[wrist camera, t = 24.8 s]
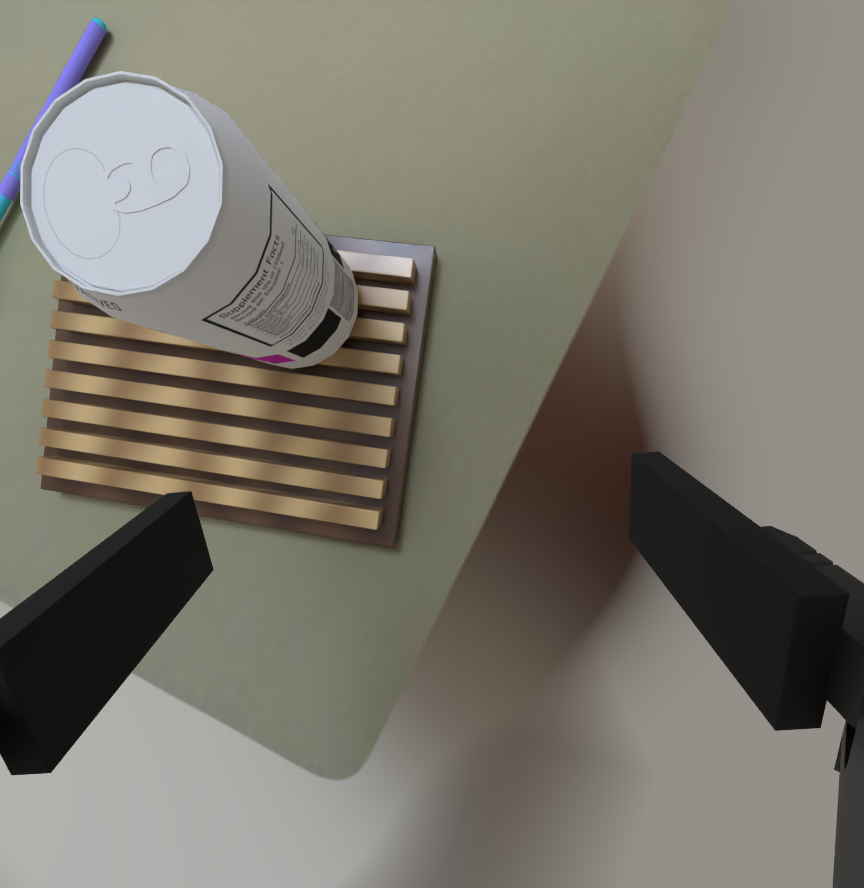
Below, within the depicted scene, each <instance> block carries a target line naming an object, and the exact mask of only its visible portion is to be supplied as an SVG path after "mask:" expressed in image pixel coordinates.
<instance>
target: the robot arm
mask: <svg viewBox="0 0 864 888" xmlns="http://www.w3.org/2000/svg"><path fill="white" fill-rule="evenodd" d="M629 539H630V540H631V541H632V543H633V544H634V545H635V546H636V548H637V549H638V551H639V552H640V553H641V555H642V556H643V557H644V558H645V560H646V561H647V562H648V564H649V565H650V566H651V568H652V569H653V570H654V571H655V573H656V574H657V576H658V577H659V578H660V580H661V581H662V582H663V584H664V585H665V586H666V588H667V589H668V590H669V591H670V593H671V594H672V595H673V597H674V598H675V599H676V601H677V602H678V603H679V605H680V606H681V607H682V609H683V610H684V611H685V612H686V614H687V615H688V616H689V618H690V619H691V620H692V622H693V623H694V624H695V626H696V627H697V628H698V630H699V631H700V632H701V634H702V635H703V636H704V637H705V639H706V640H707V641H708V643H709V644H710V645H711V646H712V648H713V649H714V651H715V652H716V653H717V655H718V656H719V657H720V659H721V660H722V661H723V662H724V664H725V665H726V666H727V668H728V669H729V670H730V672H731V673H732V674H733V676H734V677H735V678H736V679H737V681H738V682H739V684H740V685H741V686H742V687H743V689H744V690H745V691H746V693H747V694H748V695H749V697H750V698H751V699H752V701H753V702H754V703H755V705H756V706H757V707H758V709H759V710H760V711H761V712H762V714H763V715H764V716H765V718H766V719H767V720H768V722H769V723H770V724H771V725H772V727H773V728H774V730H776V731H777V730H792V729H810V728H821V724H822V719H823V714H824V710H825V705H826V701H828V702H829V703H830V704H831V705H832V706H833V707H834V708H835V709H836V710H837V711H838V712H839V713H840V714H841V715H842V716H843V718H844V719H845V720H846V722H845V726H844V730H843V734H842V738H841V743H840V747H839V751H838V755H837V760H836V764H835V768H834V770H836V771H838V772H840V777H839V793H838V794H839V796H838V810H837V826H836V842H835V858H834V875H833V888H864V584H863V583H862V582H861V581H859V580H858V579H856V578H855V577H854V576H852V575H851V574H849V573H848V572H846V571H845V570H844V569H842V568H841V567H839V566H838V565H833V562H832V561H831V560H829V559H828V558H826V557H825V556H823V555H822V554H820V553H817V552H816V550H814V549H813V548H812V547H811V546H809V545H808V544H806V543H805V542H803V541H802V540H800V539H799V538H798V537H796V536H793V535H791V534H789V533H786V532H784V531H781V530H779V529H776V528H774V527H772V526H765V527H760V526H758V525H757V524H756V523H754V522H753V521H752V520H750V519H749V518H748V517H746V516H745V515H743V514H742V513H741V512H740V511H738V510H737V509H735V508H734V507H733V506H731V505H730V504H729V503H727V502H726V501H725V500H723V499H722V498H721V497H719V496H718V495H717V494H715V493H714V492H713V491H711V490H710V489H708V488H707V487H706V486H705V485H703V484H702V483H700V482H699V481H698V480H696V479H695V478H694V477H692V476H691V475H690V474H688V473H687V472H686V471H684V470H683V469H681V468H680V467H679V466H678V465H676V464H675V463H674V462H672V461H671V460H670V459H668V458H667V457H666V456H664V455H662V454H661V453H660V452H648V453H636V454H632V467H631V492H630V517H629ZM212 571H213V566H212V562H211V559H210V555H209V552H208V548H207V545H206V541H205V538H204V534H203V530H202V527H201V523H200V520H199V516H198V513H197V509H196V506H195V502H194V498H193V495H192V491H186V492H175V493H166V494H165V495H164V496H162V497H161V498H160V499H158V500H157V501H156V502H154V503H153V504H152V505H150V506H149V507H148V508H146V509H145V510H144V511H142V512H141V513H140V514H139V515H137V516H136V517H135V518H133V519H132V520H131V521H129V522H128V523H127V524H125V525H124V526H123V527H121V528H120V529H119V530H117V531H116V532H115V533H113V534H112V535H111V536H109V537H108V538H107V539H105V540H104V541H103V542H101V543H100V544H99V545H97V546H96V547H95V548H93V549H92V550H91V551H89V552H88V553H87V554H85V555H84V556H83V557H81V558H80V559H79V560H77V561H76V562H75V563H73V564H72V565H71V566H69V567H68V568H67V569H66V570H64V571H63V572H62V573H60V574H59V575H58V576H56V577H55V578H54V579H52V580H51V581H50V582H48V583H47V584H46V585H44V586H43V587H42V588H40V589H39V590H38V591H36V592H35V593H34V594H32V595H31V596H30V597H28V598H27V599H26V600H24V601H23V602H22V603H20V604H19V605H18V606H16V607H15V608H14V609H12V610H11V611H10V612H8V613H7V614H6V615H4V616H3V617H2V618H0V754H1V756H2V758H3V760H4V762H5V763H6V766H7V767H8V770H9V772H10V773H11V775H23V774H41V773H51V772H52V770H54V768H55V767H56V766H57V765H58V763H59V762H60V761H61V760H62V758H63V757H64V756H65V754H66V753H67V752H68V751H69V750H70V748H71V747H72V746H73V745H74V743H75V742H76V741H77V740H78V738H79V737H80V736H81V735H82V733H83V732H84V731H85V730H86V728H87V727H88V726H89V725H90V723H91V722H92V721H93V720H94V718H95V717H96V716H97V715H98V713H99V712H100V711H101V709H102V708H103V707H104V706H105V704H106V703H107V702H108V701H109V700H110V698H111V697H112V696H113V694H114V693H115V692H116V691H117V690H118V688H119V687H120V686H121V684H122V683H123V682H124V681H125V680H126V678H127V677H128V676H129V675H130V673H131V672H132V671H133V670H134V668H135V667H136V666H137V665H138V663H139V662H140V661H141V660H142V658H143V657H144V656H145V655H146V653H147V652H148V651H149V650H150V648H151V647H152V646H153V645H154V643H155V642H156V641H157V640H158V638H159V637H160V636H161V635H162V633H163V632H164V631H165V630H166V628H167V627H168V626H169V625H170V623H171V622H172V621H173V620H174V618H175V617H176V616H177V615H178V613H179V612H180V611H181V610H182V608H183V607H184V606H185V605H186V603H187V602H188V601H189V600H190V598H191V597H192V596H193V595H194V593H195V592H196V591H197V590H198V588H199V587H200V586H201V585H202V583H203V582H204V581H205V580H206V578H207V577H208V576H209V575H210V573H211V572H212Z"/></svg>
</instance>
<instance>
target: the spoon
mask: <svg viewBox="0 0 864 888" xmlns="http://www.w3.org/2000/svg"><path fill="white" fill-rule="evenodd" d="M106 32H107V28H106V25H105V23H104V22H103V21H102V20H101V19H99V18H93V19H92V20H91V21H90V23H89V25H88V27H87V29H86V30H85V32H84V34H83V36H82V38H81V40H80V41H79V43H78V45H77V47H76V49H75V50H74V52H73V54H72V56H71V58H70V60H69V61H68V63H67V65H66V67H65V69H64V70H63V72H62V74H61V76H60V78H59V79H58V81H57V83H56V85H55V87H54V89H53V90H52V92H51V94H50V96H49V98H48V99H47V101H46V103H45V105H44V107H43V109H42V110H41V112H40V114H39V116H38V118H37V119H36V121H35V123H34V125H33V127H32V129H31V130H30V132H29V134H28V136H27V138H26V139H25V141H24V143H23V145H22V147H21V149H20V150H19V152H18V154H17V156H16V158H15V159H16V160H15V159H14V162H13V163H12V165H11V168H10V169H9V170H10V171H9V172H7V174H6V176H5V178H4V179H3V181H2V183H1V185H0V221H1V219H2V217H3V215H4V214H5V212H6V210H7V208H8V206H9V205H10V203H11V201H13V200H14V198H15V196H16V195H17V193H18V191H19V189H20V166H21V163H22V160H23V157H24V154H25V151H26V148H27V144H28V141H29V138H30V135H31V132H32V130H33V128H34V127H35V125H36V124H37V123H38V121H39V120H40V119H41V117H42V116H43V115H44V113H45V112H46V111H47V109H48V108H49V107H50V105H51V104H52V102H53V101H54V100H55V99H56V98H58V97H59V96H61V95H62V94H64V93H65V92H67V91H68V90H70V89H71V88H73V87H74V86H76V85H77V84H78V83H79V81H80V79H81V77H82V75H83V74H84V72H85V70H86V68H87V66H88V65H89V63H90V61H91V59H92V57H93V56H94V54H95V52H96V50H97V48H98V47H99V45H100V43H101V41H102V39H103V38H104V36H105V34H106Z"/></svg>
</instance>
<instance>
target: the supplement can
mask: <svg viewBox="0 0 864 888" xmlns="http://www.w3.org/2000/svg"><path fill="white" fill-rule="evenodd" d="M20 205H21V208H22V211H23V214H24V217H25V221H26V224H27V227H28V230H29V233H30V236H31V239H32V241H33V242H34V244H35V245H36V246H37V248H38V249H39V250H40V252H41V253H42V254H43V256H44V257H45V258H46V260H47V261H48V262H49V264H50V265H51V266H52V268H53V269H54V270H55V271H57V272H58V273H60V274H62V275H63V276H65V277H66V278H67V279H68V281H69V282H70V283H71V284H72V286H73V287H74V288H75V289H76V291H77V292H78V293H79V294H80V296H81V297H82V298H84V299H85V300H87V301H89V302H90V303H92V304H93V305H95V306H96V307H98V308H99V309H101V310H102V311H104V312H105V313H107V314H108V315H110V316H112V317H113V318H116V319H119V320H123V321H126V322H129V323H133V324H136V325H140V326H143V327H146V328H150V329H153V330H156V331H160V332H163V333H167V334H170V335H173V336H177V337H180V338H184V339H187V340H190V341H194V342H197V343H200V344H204V345H207V346H211V347H214V348H217V349H221V350H224V351H227V352H231V353H234V354H238V355H241V356H244V357H248V358H251V359H254V360H258V361H261V362H265V363H268V364H272V365H276V366H281V367H286V368H290V369H294V368H300V367H307V366H314V365H316V364H317V363H319V362H321V361H323V360H325V359H326V358H328V357H330V356H332V355H333V354H334V353H335V352H336V351H337V350H338V349H339V348H340V346H341V345H342V344H343V343H344V342H345V341H346V340H347V338H348V337H349V335H350V333H351V330H352V327H353V325H354V322H355V320H356V317H357V311H358V289H357V286H356V283H355V280H354V277H353V273H352V270H351V268H350V267H349V266H348V264H347V263H346V262H345V260H344V259H343V258H342V256H341V255H340V254H339V253H338V251H337V250H336V249H335V247H334V246H333V245H332V244H331V242H330V241H329V240H328V239H327V237H326V236H325V235H324V234H323V233H322V231H321V230H320V229H319V228H318V226H317V225H316V224H315V223H314V221H313V220H312V219H311V218H310V216H309V215H308V214H307V213H306V211H305V210H304V209H303V208H302V206H301V205H300V204H299V203H298V201H297V200H296V199H295V198H294V196H293V195H292V194H291V193H290V191H289V190H288V189H287V188H286V186H285V185H284V184H283V183H282V181H281V180H280V179H279V178H278V176H277V175H276V174H275V173H274V171H273V170H272V169H271V168H270V166H269V165H268V164H267V163H266V161H265V160H264V159H263V158H262V156H261V155H260V154H259V153H258V151H257V150H256V149H255V148H254V146H253V145H252V144H251V143H250V141H249V140H248V139H247V138H246V136H245V135H244V134H243V133H242V131H241V130H240V129H239V128H238V126H237V125H236V124H235V123H234V121H233V120H232V119H231V118H230V116H229V115H228V114H227V113H226V112H225V111H223V110H221V109H220V108H218V107H217V106H215V105H213V104H212V103H210V102H208V101H207V100H205V99H203V98H202V97H200V96H198V95H197V94H195V93H194V92H191V91H187V90H184V89H180V88H176V87H172V86H170V85H169V84H167V83H165V82H164V81H162V80H160V79H159V78H157V77H154V76H148V75H142V74H135V73H129V72H123V71H118V72H114V73H110V74H105V75H101V76H96V77H92V78H88V79H85V80H83V81H82V82H80V83H79V84H77V85H76V86H74V87H73V88H71V89H70V90H68V91H67V92H65V93H64V94H62V95H61V96H59V97H58V98H56V99H55V100H54V101H53V102H52V104H51V105H50V107H49V108H48V109H47V111H46V112H45V113H44V115H43V116H42V117H41V119H40V120H39V121H38V123H37V124H36V125H35V127H34V128H33V130H32V132H31V135H30V138H29V141H28V144H27V148H26V151H25V154H24V157H23V160H22V163H21V166H20Z"/></svg>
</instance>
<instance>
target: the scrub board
mask: <svg viewBox="0 0 864 888" xmlns="http://www.w3.org/2000/svg"><path fill="white" fill-rule="evenodd" d="M325 236H326V237H327V239H328V240H329V241H330V242H331V244H332V245H333V246H334V247H335V249H336V250H337V251H338V253H339V254H340V255H341V256H342V258H343V259H344V260H345V262H346V263H347V264H348V266H349V267H350V268H351V270H352V273H353V277H354V280H355V283H356V286H357V289H358V311H357V317H356V320H355V322H354V325H353V327H352V330H351V333H350V335H349V337H348V338H347V340H346V341H345V342H344V343H343V344H342V345H341V346H340V348H339V349H338V350H337V351H336V352H335V353H334V354H333V355H332V356H330V357H328V358H326V359H325V360H323V361H321V362H319V363H317V364H316V365H314V366H307V367H300V368H294V369H290V368H286V367H281V366H276V365H272V364H268V363H265V362H261V361H258V360H254V359H251V358H248V357H244V356H241V355H238V354H234V353H231V352H227V351H224V350H221V349H217V348H214V347H211V346H207V345H204V344H200V343H197V342H194V341H190V340H187V339H184V338H180V337H177V336H173V335H170V334H167V333H163V332H160V331H156V330H153V329H150V328H146V327H143V326H140V325H136V324H133V323H129V322H126V321H123V320H119V319H116V318H113V317H112V316H110V315H108V314H107V313H105V312H104V311H102V310H101V309H99V308H98V307H96V306H95V305H93V304H92V303H90V302H89V301H87V300H85V299H84V298H82V297H81V296H80V294H79V293H78V292H77V291H76V289H75V288H74V287H73V286H72V284H71V283H70V282H69V281H68V279H67V278H66V277H65V276H63V275H61V281H54V291H53V298H55V299H58V300H59V306H58V311H54V310H53V311H52V313H51V323H50V327H51V328H53V329H56V337H55V341H54V340H49V342H48V353H47V357H48V358H53V368H52V370H47V369H46V372H45V382H44V387H48V388H50V399H43V404H42V414H41V415H42V416H44V417H48V419H47V428H40V435H39V445H41V446H45V450H44V456H43V457H37V467H36V474H40V475H42V481H41V489H45V490H51V491H57V492H63V493H69V494H75V495H81V496H87V497H93V498H99V499H105V500H111V501H117V502H123V503H129V504H134V505H140V506H146V507H149V506H150V505H152V504H153V503H154V502H156V501H157V500H158V499H160V498H161V497H162V496H164V495H165V494H166V493H175V492H186V491H192V495H193V498H194V502H195V506H196V509H197V513H198V515H200V516H206V517H212V518H218V519H224V520H230V521H236V522H242V523H248V524H254V525H260V526H266V527H272V528H278V529H284V530H290V531H296V532H302V533H308V534H314V535H320V536H326V537H332V538H338V539H344V540H350V541H356V542H362V543H367V544H373V545H379V546H385V547H391V548H393V547H394V546H395V544H396V543H397V539H398V532H399V525H400V517H401V510H402V503H403V496H404V489H405V481H406V474H407V467H408V460H409V452H410V445H411V438H412V431H413V423H414V416H415V409H416V402H417V395H418V387H419V380H420V373H421V366H422V358H423V351H424V344H425V337H426V330H427V322H428V315H429V308H430V301H431V293H432V286H433V279H434V272H435V264H436V257H437V254H436V250H435V247H434V246H425V245H416V244H406V243H397V242H388V241H378V240H369V239H360V238H350V237H341V236H331V235H325Z"/></svg>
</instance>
